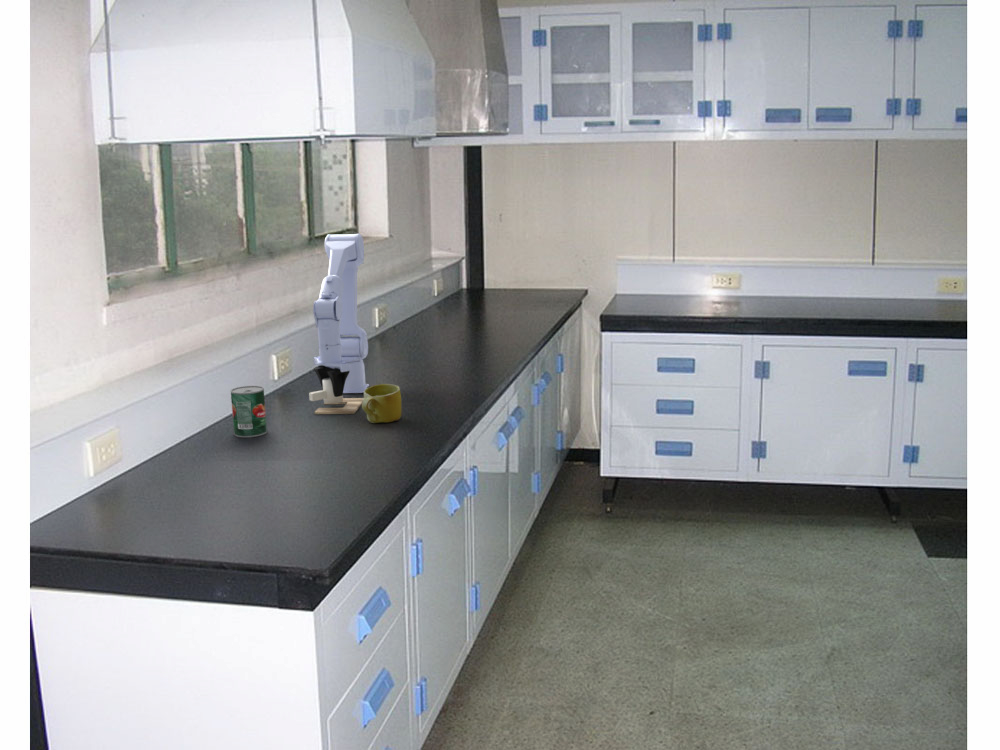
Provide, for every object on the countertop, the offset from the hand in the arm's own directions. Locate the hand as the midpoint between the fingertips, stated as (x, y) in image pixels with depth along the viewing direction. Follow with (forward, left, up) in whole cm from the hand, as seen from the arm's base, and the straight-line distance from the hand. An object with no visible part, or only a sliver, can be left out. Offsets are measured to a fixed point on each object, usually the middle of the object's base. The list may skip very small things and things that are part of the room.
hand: (333, 394), depth 274 cm
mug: (+15, +15, -4) cm, 22 cm away
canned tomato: (+25, -15, -4) cm, 29 cm away
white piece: (+1, -1, -2) cm, 3 cm away
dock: (0, +2, -3) cm, 4 cm away
